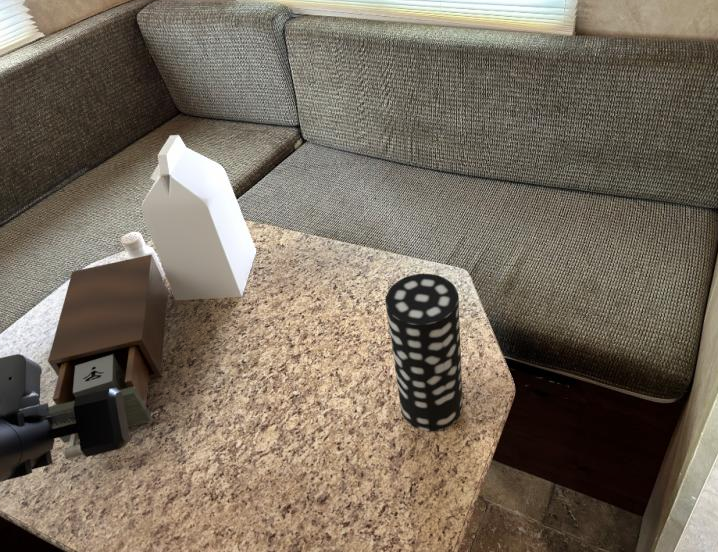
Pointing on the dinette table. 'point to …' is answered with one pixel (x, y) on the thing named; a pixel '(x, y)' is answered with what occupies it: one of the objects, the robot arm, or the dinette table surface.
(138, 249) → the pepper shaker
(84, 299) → the cabinet
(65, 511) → the dinette table surface
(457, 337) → the spotted tube
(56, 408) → the drawer
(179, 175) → the milk
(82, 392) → the dice cube
